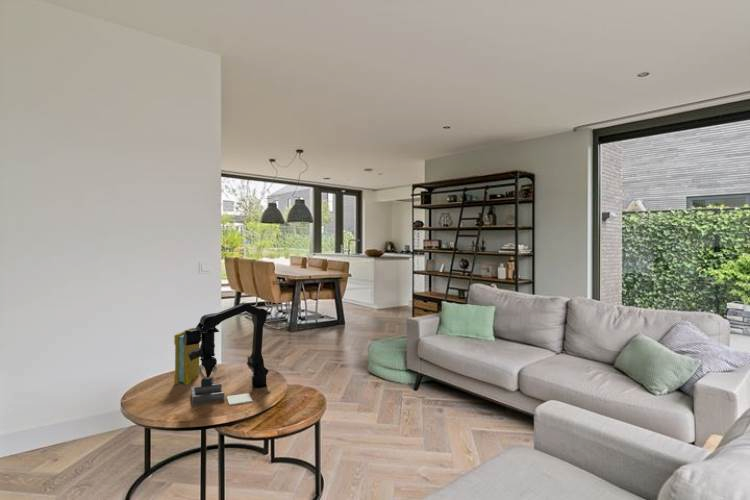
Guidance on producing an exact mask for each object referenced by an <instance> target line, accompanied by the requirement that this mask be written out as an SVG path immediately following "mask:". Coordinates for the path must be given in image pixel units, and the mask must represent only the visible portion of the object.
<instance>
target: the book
mask: <svg viewBox="0 0 750 500" xmlns="http://www.w3.org/2000/svg"><path fill="white" fill-rule="evenodd" d="M195 328H196V327H192V328H187V330H195ZM184 333H185V330H183V331H181V332H179V333H176V334H174V343H173V344H174V345H175V346H174V347H175V349H174V351H175V355H174V357H175V358H174V362H175V363H174V367H175V368H174V370H175V371H174V375H173V378H174V379H173V384H174V385H179V384H180V383H183V385H189V384H190V383H192V381H193V380H194V379H195V378H197V377H198V376H199V375H200V374H199V372H198V369H199V366H200V357H198V358H196V359H194V360H192V361H190V359H189V356H188V352H190V351H192V350H195V349H197V348H200V343H199V344H194V345H187V346H185V345H184V343H183V337H184Z"/></svg>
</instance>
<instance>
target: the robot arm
mask: <svg viewBox="0 0 750 500" xmlns="http://www.w3.org/2000/svg"><path fill="white" fill-rule="evenodd" d="M243 313H249V314H250V315H251V320H252V325H253V330H252V331H253V333H252V347H251V348H252V350H251V354H250V356H247V362H246V365H247V367H248V369H249V370H251V373H252V376H251V386H252V387H253V388H254V389H256V388H263V387H268V384H267V375H268V374H269V372H270V371H269V369H268V368H267V367H266V366H265V364H264V363H265V361H264V357H263V353H262V349H263V336H264V335H263V333H264V325H265V323H266V322H267V317H268V310H266V309H265V308H263V307H260V306H253V305H251V304H249V303H248V302H241V303H239V304H238V305H234V306H232V307H230V308H227V309H224V310H222V311H218V312H214V313H213V312H212V313H209V314H204V315H202V316H201V317H200V320H199V322H198V324H197V325H196V327H194V328H195V330H188V329H185V330H184V331H185V333H184V337H183V343H184V345H185V346H187V345H194V344H199V348H197V349H195V350H192V351H190V352H188V356H189V359H190V361H192V360H194V359H196V358H198V357H199V361H201V362H200V363H201V364H202V365H201V364H200V365H201V366H202V367H204V370H205V371H204V372H205V375H206V376H205V377H210V376H211V374H212V372H213V371H212V370H213V368H214V366H215V365H216V366H217V364H218V363H217V362H218V360H217V357H216V353H215V348H216V344H215V333H219V332H220V330H219V329H218V328H217V326H219V325H220V324H221V323H222V322H223V321H226V320H228V319H231V318H233V317H236V316H238V315H240V314H243Z"/></svg>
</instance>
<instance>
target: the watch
mask: <svg viewBox="0 0 750 500" xmlns="http://www.w3.org/2000/svg"><path fill="white" fill-rule="evenodd" d="M201 366H202V364H199V369H198V372H199V375H200V377H201V381H200V383H201V384H200V386H201V387H211V386H212V384H214V376H216V375H215V374H216V373H217V370H218V368H217V365H215V366H214V368H213V370H212V372H213V374H212V375H210V377H207V376H205V374H204V373H203V372H202V368H201Z"/></svg>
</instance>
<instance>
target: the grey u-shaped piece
mask: <svg viewBox="0 0 750 500" xmlns="http://www.w3.org/2000/svg"><path fill="white" fill-rule="evenodd" d="M190 388H191V389H190V393H191V394H190V395H191V405H192V406H196V405H200V404H208V403H214V402H221V400H222V401H225V391H222V383H221V382H220V383H213V384H212V386H211V387H201V385H198V386H191V387H190Z"/></svg>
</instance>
